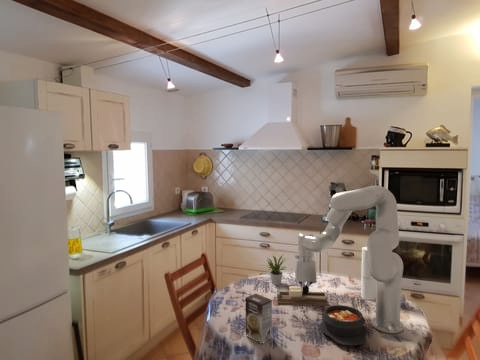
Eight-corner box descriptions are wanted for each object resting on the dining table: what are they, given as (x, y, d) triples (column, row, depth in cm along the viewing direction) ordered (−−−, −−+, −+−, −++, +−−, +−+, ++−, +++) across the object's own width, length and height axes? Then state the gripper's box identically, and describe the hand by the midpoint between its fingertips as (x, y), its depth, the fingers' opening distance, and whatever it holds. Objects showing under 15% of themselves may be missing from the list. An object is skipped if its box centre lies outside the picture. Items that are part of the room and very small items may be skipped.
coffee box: (245, 335, 141) (244, 297, 140) (255, 329, 146) (255, 292, 144) (261, 344, 135) (261, 304, 133) (272, 338, 139) (272, 299, 138)
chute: (327, 305, 167) (327, 297, 167) (277, 304, 169) (277, 296, 169) (323, 295, 179) (324, 287, 179) (277, 294, 181) (277, 286, 181)
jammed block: (302, 300, 171) (302, 291, 171) (289, 299, 172) (289, 291, 171) (301, 295, 177) (301, 286, 177) (289, 294, 178) (289, 286, 177)
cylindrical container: (378, 300, 173) (379, 250, 170) (363, 300, 173) (364, 250, 170) (373, 294, 180) (374, 246, 177) (359, 294, 180) (359, 246, 178)
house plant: (290, 278, 202) (290, 251, 201) (291, 288, 189) (291, 258, 187) (266, 278, 204) (265, 250, 202) (265, 287, 190) (265, 258, 188)
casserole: (378, 349, 131) (378, 328, 130) (329, 351, 130) (329, 329, 129) (354, 317, 156) (354, 299, 155) (313, 318, 155) (313, 300, 154)
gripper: (290, 260, 169) (290, 296, 171) (322, 260, 168) (321, 297, 169) (290, 255, 177) (290, 290, 178) (320, 255, 175) (319, 291, 177)
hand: (305, 293), depth 174 cm, fingers closed
